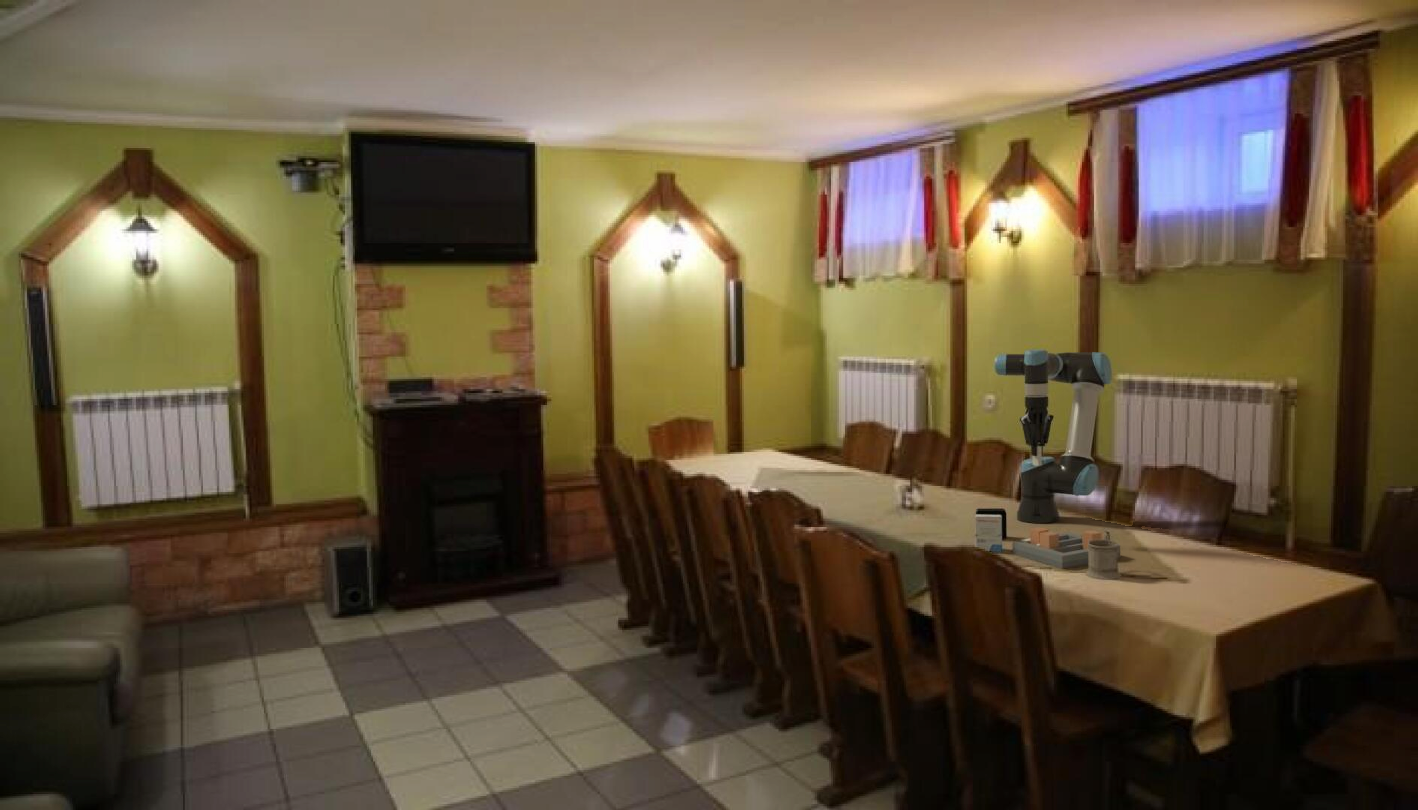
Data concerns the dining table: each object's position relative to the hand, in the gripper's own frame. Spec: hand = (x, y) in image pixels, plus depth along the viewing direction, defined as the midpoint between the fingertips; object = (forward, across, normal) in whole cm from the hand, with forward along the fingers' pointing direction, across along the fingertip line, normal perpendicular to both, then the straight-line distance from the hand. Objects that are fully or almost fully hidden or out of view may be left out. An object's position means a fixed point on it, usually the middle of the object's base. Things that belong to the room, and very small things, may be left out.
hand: (1037, 465), depth 335 cm
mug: (+27, +11, +40) cm, 49 cm away
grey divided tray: (+26, +6, +19) cm, 33 cm away
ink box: (+27, +21, 0) cm, 34 cm away
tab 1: (+24, +11, +13) cm, 30 cm away
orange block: (+24, +1, +25) cm, 35 cm away
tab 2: (+24, +13, +19) cm, 33 cm away
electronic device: (+27, +9, -13) cm, 31 cm away
